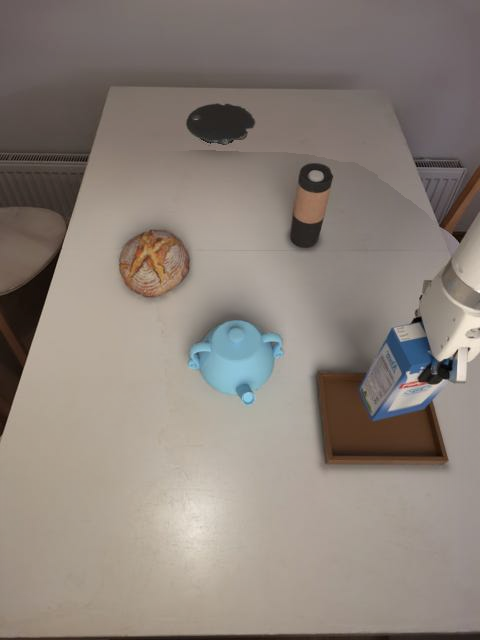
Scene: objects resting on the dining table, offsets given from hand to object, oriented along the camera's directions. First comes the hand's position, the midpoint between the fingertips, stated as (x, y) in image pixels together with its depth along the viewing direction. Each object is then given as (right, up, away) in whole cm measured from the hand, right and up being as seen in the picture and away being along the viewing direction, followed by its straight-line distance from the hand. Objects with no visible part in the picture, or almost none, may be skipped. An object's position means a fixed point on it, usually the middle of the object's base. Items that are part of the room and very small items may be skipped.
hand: (422, 356), depth 63 cm
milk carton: (0, -9, +13) cm, 15 cm away
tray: (0, -14, +20) cm, 25 cm away
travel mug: (-10, +26, +48) cm, 56 cm away
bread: (-47, +18, +41) cm, 65 cm away
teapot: (-27, -6, +25) cm, 38 cm away
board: (-33, +64, +74) cm, 103 cm away
